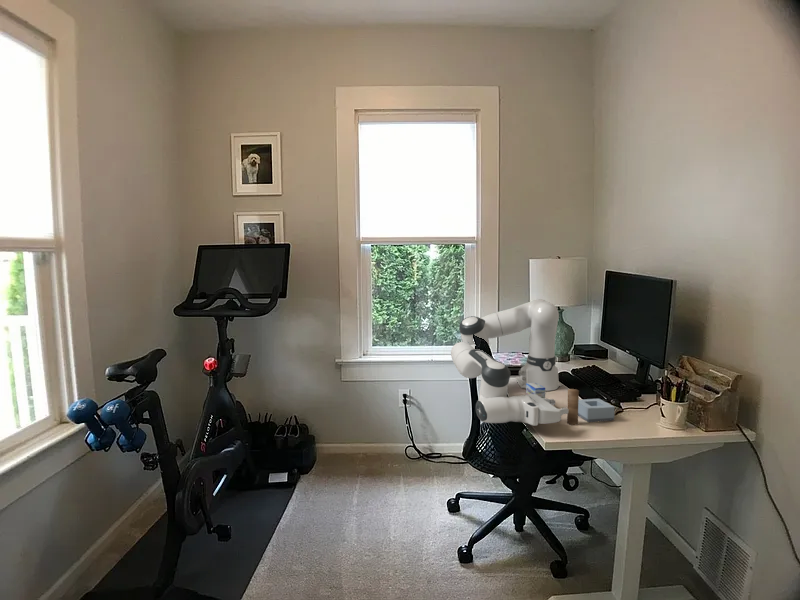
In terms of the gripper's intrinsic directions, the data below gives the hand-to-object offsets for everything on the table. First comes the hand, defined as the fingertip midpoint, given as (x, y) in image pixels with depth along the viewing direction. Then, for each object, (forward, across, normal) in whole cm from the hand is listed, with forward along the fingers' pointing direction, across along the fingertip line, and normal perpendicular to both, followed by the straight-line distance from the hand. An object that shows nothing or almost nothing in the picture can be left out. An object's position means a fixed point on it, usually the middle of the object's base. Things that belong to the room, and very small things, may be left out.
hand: (560, 406), depth 169 cm
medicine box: (0, -20, -7) cm, 22 cm away
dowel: (+5, 0, -7) cm, 8 cm away
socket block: (+16, -5, -7) cm, 18 cm away
